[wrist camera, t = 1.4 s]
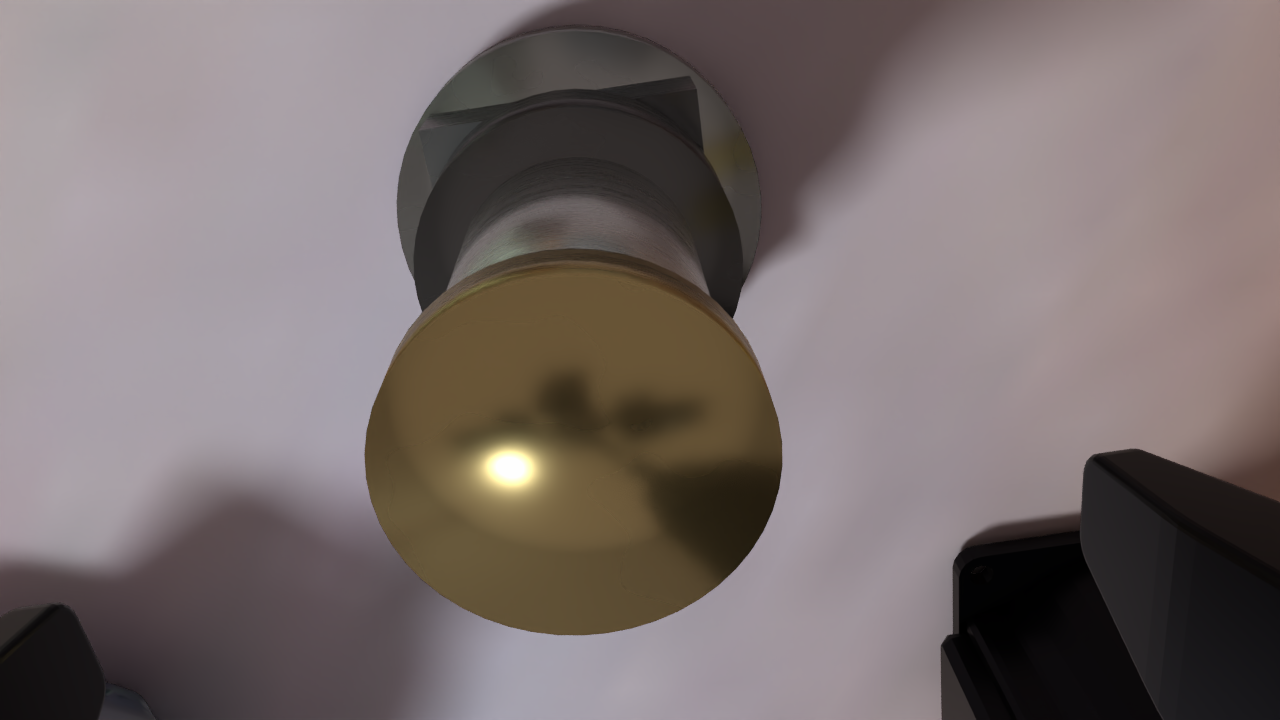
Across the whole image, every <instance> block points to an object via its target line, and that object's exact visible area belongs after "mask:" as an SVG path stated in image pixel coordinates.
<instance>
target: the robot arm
mask: <svg viewBox="0 0 1280 720" xmlns="http://www.w3.org/2000/svg"><path fill="white" fill-rule="evenodd" d="M980 566H986V567H985V568H984V569H983V570H982V571H981V572H978V573H976V574H973V573H971V572H972V571H973V570H974V569H975V568H977V567H980ZM105 692H106V683H105V677H104V673H103V670H102V667H101V665H100V663H99V661H98V659H97V657H96V655H95V653H94V651H93V649H92V646H91V644H90V642H89V640H88V638H87V636H86V634H85V632H84V630H83V628H82V626H81V624H80V621H79V619H78V617H77V616H76V614H75V612H74V611H73V610H72V609H71V608H70V607H69V606H67V605H65V604H62V603H58V602H56V603H48V604H41V605H34V606H27V607H20V608H17V609H14V610H12V611H10V612H8V613H7V614H5V615H3V616H2V617H0V720H99V717H100V714H101V710H102V707H103V704H104V699H105ZM941 705H942V720H1280V502H1278V501H1275V500H1273V499H1270V498H1267V497H1265V496H1262V495H1260V494H1257V493H1254V492H1252V491H1249V490H1246V489H1244V488H1241V487H1238V486H1236V485H1233V484H1230V483H1228V482H1225V481H1222V480H1220V479H1217V478H1215V477H1212V476H1209V475H1207V474H1204V473H1201V472H1199V471H1196V470H1193V469H1191V468H1188V467H1185V466H1183V465H1180V464H1178V463H1175V462H1172V461H1170V460H1167V459H1164V458H1162V457H1159V456H1156V455H1154V454H1151V453H1148V452H1146V451H1143V450H1140V449H1126V450H1119V451H1112V452H1105V453H1099V454H1094V455H1092V456H1091V457H1090V458H1089V459H1088V460H1087V462H1086V464H1085V467H1084V473H1083V489H1082V506H1081V524H1080V531H1075V532H1068V533H1061V534H1054V535H1047V536H1040V537H1033V538H1026V539H1019V540H1012V541H1005V542H998V543H991V544H984V545H977V546H973V547H969V548H966V549H965V550H964V551H962V552H961V553H959V555H958V556H957V557H956V559H955V560H954V564H953V634H952V635H947V637H946V638H945V640H944V641H943V643H942V645H941Z"/></svg>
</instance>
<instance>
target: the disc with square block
mask: <svg viewBox="0 0 1280 720" xmlns="http://www.w3.org/2000/svg"><path fill="white" fill-rule="evenodd" d="M565 89H592V90H600V91H606V92H611V93H617V94H620V95H623V96H626V97H629V98H632V99H635V100H638V101H640V102H642V103H644V104H646V105H648V106H650V107H652V108H654V109H656V110H658V111H659V112H661V113H662V114H664V115H665V116H667V117H668V118H670V119H671V120H673V121H674V122H675V123H676V124H677V125H679V126H680V127H681V128H682V129H683V130H684V131H685V132H687V133H688V134H689V135H690V137H691V138H692V139H693V140H694V141H695V142H696V143H697V144H698V146H699V147H700V148H701V149H702V151H703V152H704V154H705V155H706V157H707V158H708V160H709V161H710V163H711V164H712V166H713V168H714V170H715V172H716V174H717V176H718V178H719V180H720V183H721V185H722V187H723V189H724V191H725V194H726V196H727V198H728V200H729V203H730V205H731V207H732V209H733V212H734V215H735V219H736V222H737V225H738V228H739V232H740V238H741V244H742V250H743V277H742V286H743V284H744V283H745V280H746V278H747V275H748V273H749V270H750V268H751V265H752V263H753V260H754V256H755V252H756V248H757V244H758V240H759V232H760V223H761V193H760V186H759V180H758V174H757V169H756V166H755V163H754V159H753V156H752V153H751V149H750V147H749V145H748V142H747V140H746V138H745V136H744V134H743V132H742V129H741V127H740V126H739V124H738V122H737V121H736V119H735V118H734V116H733V114H732V113H731V111H730V110H729V108H728V107H727V105H726V103H725V102H724V100H723V99H722V97H721V96H720V95H719V94H718V92H717V91H716V90H715V89H714V88H713V87H712V85H711V84H710V83H709V82H708V81H707V79H705V78H704V77H703V76H702V75H701V74H700V73H699V72H698V71H697V70H695V69H694V68H693V67H692V66H691V65H690V64H689V63H687V62H686V61H684V60H683V59H682V58H680V57H679V56H677V55H676V54H674V53H673V52H671V51H670V50H668V49H666V48H664V47H662V46H660V45H658V44H656V43H654V42H652V41H650V40H648V39H646V38H643V37H640V36H637V35H634V34H631V33H628V32H625V31H621V30H616V29H610V28H605V27H600V26H583V25H570V26H557V27H548V28H544V29H540V30H535V31H531V32H526V33H524V34H521V35H518V36H516V37H513V38H510V39H507V40H505V41H503V42H501V43H499V44H497V45H495V46H493V47H491V48H490V49H488V50H486V51H484V52H482V53H481V54H480V55H478V56H477V57H475V58H474V59H473V60H471V61H470V62H469V63H467V64H466V65H465V66H463V67H462V68H461V69H460V70H459V71H458V72H457V73H456V74H455V75H454V76H453V77H452V78H451V79H450V80H449V81H448V82H447V83H446V84H445V85H444V87H443V88H442V89H441V91H440V92H439V93H438V94H437V96H436V97H435V98H434V100H433V101H432V102H431V104H430V105H429V107H428V108H427V109H426V111H425V112H424V114H423V116H422V118H421V119H420V121H419V123H418V125H417V126H416V128H415V130H414V132H413V134H412V137H411V139H410V142H409V144H408V147H407V149H406V152H405V155H404V159H403V163H402V167H401V171H400V176H399V182H398V193H397V217H398V228H399V234H400V239H401V245H402V249H403V252H404V255H405V258H406V261H407V264H408V267H409V270H410V272H411V274H412V276H413V278H414V260H413V257H414V247H415V237H416V233H417V229H418V225H419V221H420V217H421V214H422V212H423V209H424V207H425V205H426V202H427V200H428V197H429V195H430V193H431V191H432V189H433V187H434V185H435V183H436V181H437V179H438V177H439V175H440V173H441V171H442V170H443V168H444V166H445V165H446V163H447V161H448V159H449V158H450V156H451V154H452V153H453V152H454V150H455V149H456V148H457V146H458V145H459V144H460V143H461V141H462V140H463V139H464V138H465V137H466V136H467V135H468V134H469V133H470V132H471V131H472V130H473V129H474V128H475V127H476V126H477V125H478V124H479V123H481V122H482V121H484V120H485V119H486V118H488V117H489V116H491V115H492V114H493V113H495V112H496V111H498V110H500V109H502V108H504V107H506V106H508V105H509V104H511V103H513V102H516V101H518V100H521V99H524V98H527V97H529V96H532V95H535V94H540V93H545V92H549V91H554V90H565ZM742 286H741V288H742Z"/></svg>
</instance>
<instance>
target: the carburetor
mask: <svg viewBox="0 0 1280 720" xmlns="http://www.w3.org/2000/svg"><path fill="white" fill-rule="evenodd" d="M105 683H106V682H105ZM99 720H157V719H156V718H154V716H153V715H152V713H151V711H150V708H149V707H148V705H147V704H146V702H145V701H144V699H143V698H142V697H141V696H140V695H138V694H137V693H135V692H133V691H130V690H128V689H125V688H122V687H119V686H117V685H114V684H111V683H106V692H105V699H104V704H103V707H102V710H101V714H100V717H99Z"/></svg>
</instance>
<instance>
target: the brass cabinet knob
mask: <svg viewBox="0 0 1280 720" xmlns="http://www.w3.org/2000/svg"><path fill="white" fill-rule="evenodd" d="M413 260H414V280H415V285H416V291H417V296H418V300H419V303H420V306H421V309H422V313H421V315H420V316H419V317H418V318H417V320H416V321H415V322H414V323H413V324H412V326H411V327H410V328H409V329H408V331H407V333H406V334H405V336H404V338H403V339H402V341H401V343H400V344H399V346H398V348H397V349H396V352H395V354H394V356H393V359H392V361H391V364H390V366H389V368H388V371H387V373H386V376H385V378H384V380H383V383H382V385H381V388H380V390H379V393H378V395H377V398H376V400H375V402H374V405H373V407H372V411H371V415H370V419H369V424H368V428H367V433H366V444H365V468H366V480H367V484H368V489H369V493H370V498H371V502H372V504H373V507H374V510H375V512H376V515H377V517H378V520H379V523H380V525H381V526H382V528H383V530H384V532H385V534H386V535H387V537H388V539H389V541H390V542H391V544H392V546H393V547H394V548H395V549H396V551H397V552H398V553H399V555H400V556H401V557H402V559H403V560H404V561H405V563H406V564H407V565H408V566H409V567H410V568H411V569H412V570H413V571H414V572H415V573H416V574H417V575H418V576H419V577H420V578H421V579H422V580H423V581H424V582H426V583H427V584H428V585H429V586H431V587H432V588H433V589H434V590H436V591H437V592H438V593H439V594H441V595H442V596H444V597H445V598H447V599H449V600H450V601H452V602H453V603H455V604H457V605H458V606H460V607H462V608H463V609H466V610H468V611H470V612H472V613H474V614H476V615H478V616H481V617H483V618H485V619H488V620H491V621H494V622H497V623H500V624H502V625H505V626H508V627H513V628H517V629H522V630H526V631H531V632H537V633H546V634H554V635H591V634H602V633H610V632H615V631H620V630H625V629H631V628H634V627H638V626H641V625H644V624H647V623H651V622H654V621H657V620H659V619H661V618H664V617H666V616H668V615H671V614H673V613H675V612H678V611H679V610H681V609H683V608H685V607H687V606H688V605H690V604H692V603H694V602H695V601H697V600H699V599H700V598H702V597H703V596H704V595H706V594H707V593H708V592H710V591H711V590H713V589H714V588H715V587H717V586H718V585H719V584H720V583H721V582H722V581H723V580H725V579H726V578H727V577H728V576H729V575H730V574H731V573H732V572H733V571H734V570H735V569H736V568H737V567H738V566H739V565H740V563H741V562H742V561H743V560H744V559H745V557H746V556H747V555H748V554H749V553H750V551H751V550H752V548H753V547H754V545H755V543H756V542H757V540H758V539H759V537H760V536H761V534H762V532H763V531H764V528H765V526H766V524H767V522H768V520H769V517H770V515H771V513H772V511H773V508H774V504H775V501H776V497H777V494H778V490H779V486H780V478H781V471H782V439H781V433H780V427H779V421H778V417H777V414H776V411H775V408H774V405H773V402H772V399H771V396H770V393H769V390H768V387H767V385H766V382H765V379H764V376H763V373H762V371H761V368H760V365H759V362H758V360H757V358H756V356H755V354H754V352H753V350H752V348H751V346H750V344H749V342H748V340H747V339H746V337H745V336H744V334H743V333H742V331H741V330H740V329H739V327H738V326H737V324H736V323H735V321H734V320H733V316H734V314H735V311H736V309H737V305H738V301H739V296H740V292H741V286H742V277H743V250H742V244H741V238H740V232H739V228H738V225H737V222H736V219H735V215H734V212H733V209H732V207H731V205H730V203H729V200H728V198H727V196H726V194H725V191H724V189H723V187H722V185H721V183H720V180H719V178H718V176H717V174H716V172H715V170H714V168H713V166H712V164H711V163H710V161H709V160H708V158H707V157H706V155H705V154H704V152H703V151H702V149H701V148H700V147H699V146H698V144H697V143H696V142H695V141H694V140H693V139H692V138H691V137H690V135H689V134H688V133H687V132H685V131H684V130H683V129H682V128H681V127H680V126H679V125H677V124H676V123H675V122H674V121H673V120H671V119H670V118H668V117H667V116H665V115H664V114H662V113H661V112H659V111H658V110H656V109H654V108H652V107H650V106H648V105H646V104H644V103H642V102H640V101H638V100H635V99H632V98H629V97H626V96H623V95H620V94H617V93H611V92H606V91H600V90H592V89H565V90H554V91H549V92H545V93H540V94H535V95H532V96H529V97H527V98H524V99H521V100H518V101H516V102H513V103H511V104H509V105H508V106H506V107H504V108H502V109H500V110H498V111H496V112H495V113H493V114H492V115H491V116H489V117H488V118H486V119H485V120H484V121H482V122H481V123H479V124H478V125H477V126H476V127H475V128H474V129H473V130H472V131H471V132H470V133H469V134H468V135H467V136H466V137H465V138H464V139H463V140H462V141H461V143H460V144H459V145H458V146H457V148H456V149H455V150H454V152H453V153H452V154H451V156H450V158H449V159H448V161H447V163H446V165H445V166H444V168H443V170H442V171H441V173H440V175H439V177H438V179H437V181H436V183H435V185H434V187H433V189H432V191H431V193H430V195H429V197H428V200H427V202H426V205H425V207H424V209H423V212H422V214H421V217H420V221H419V225H418V229H417V233H416V237H415V247H414V257H413Z"/></svg>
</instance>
